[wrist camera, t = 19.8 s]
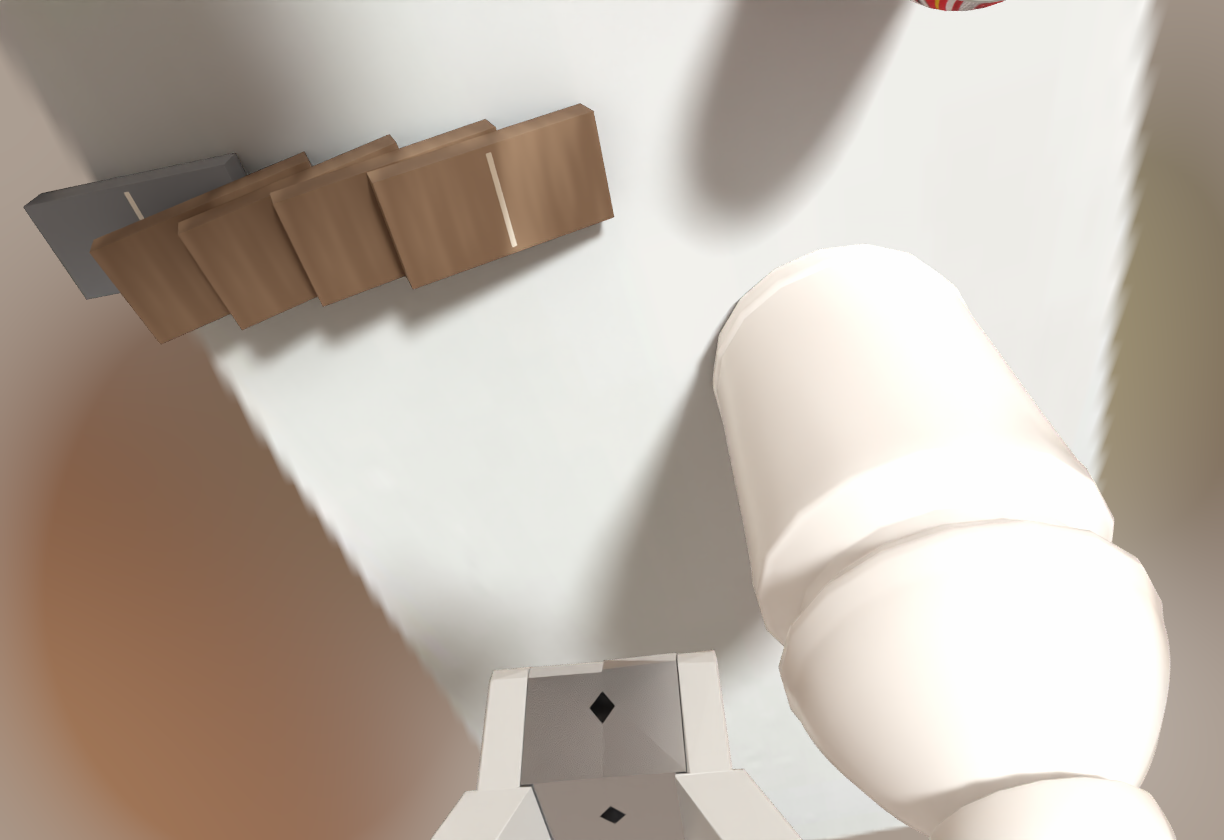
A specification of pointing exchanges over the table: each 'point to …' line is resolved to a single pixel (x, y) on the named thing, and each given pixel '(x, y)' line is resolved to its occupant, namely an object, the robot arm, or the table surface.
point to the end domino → (118, 211)
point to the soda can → (957, 4)
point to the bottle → (936, 561)
